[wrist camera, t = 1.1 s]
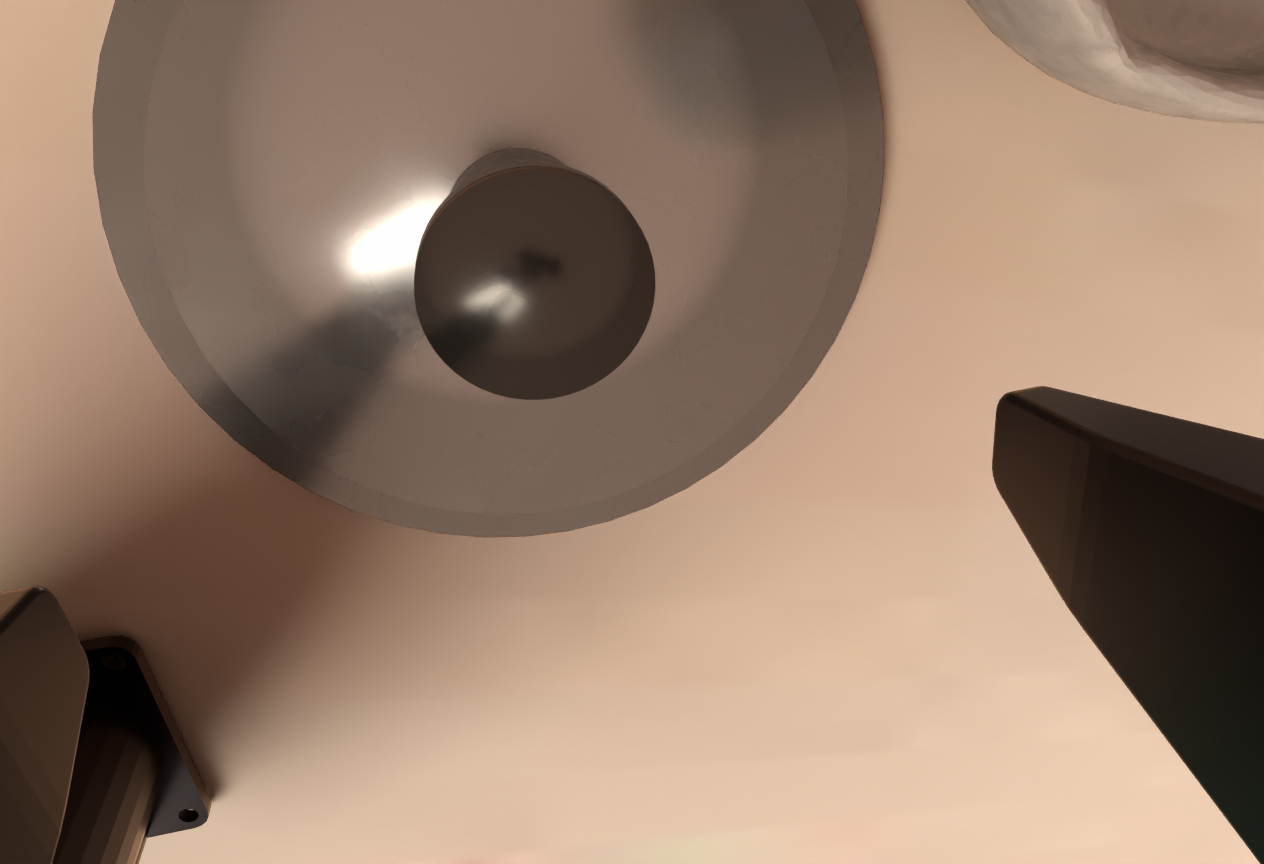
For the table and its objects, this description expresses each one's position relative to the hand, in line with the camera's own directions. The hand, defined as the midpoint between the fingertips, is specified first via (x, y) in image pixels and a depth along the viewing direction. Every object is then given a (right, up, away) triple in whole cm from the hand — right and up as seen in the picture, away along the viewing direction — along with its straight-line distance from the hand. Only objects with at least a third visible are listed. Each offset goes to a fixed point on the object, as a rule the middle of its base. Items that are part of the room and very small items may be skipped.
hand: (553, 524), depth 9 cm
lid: (-2, +6, +11) cm, 13 cm away
